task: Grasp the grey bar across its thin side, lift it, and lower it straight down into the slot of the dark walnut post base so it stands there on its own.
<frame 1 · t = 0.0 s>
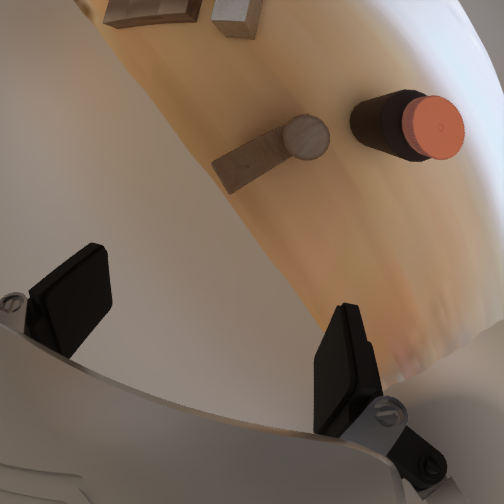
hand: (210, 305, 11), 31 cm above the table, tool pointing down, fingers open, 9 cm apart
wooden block: (279, 142, 37), on the table
grey bar: (246, 12, 29), on the table
bottle: (372, 123, 34), on the table
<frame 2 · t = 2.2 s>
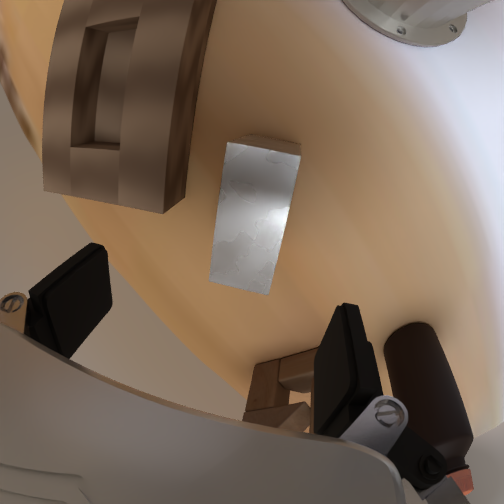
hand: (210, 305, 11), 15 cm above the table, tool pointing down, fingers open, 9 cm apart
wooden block: (300, 361, 32), on the table
post base: (128, 84, 21), on the table
grey bar: (265, 190, 24), on the table
bottle: (409, 342, 28), on the table
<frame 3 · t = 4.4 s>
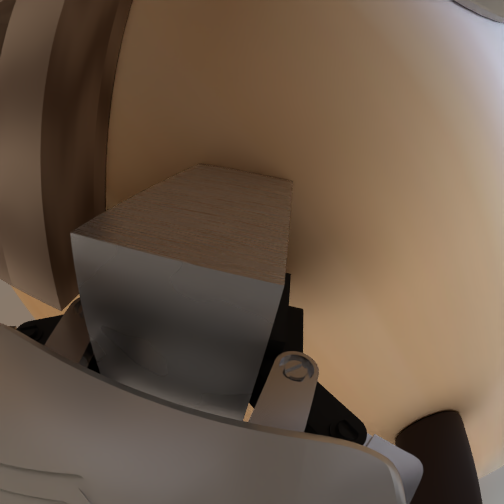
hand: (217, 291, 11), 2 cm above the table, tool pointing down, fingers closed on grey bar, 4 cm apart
post base: (29, 93, 11), on the table
grey bar: (229, 264, 14), on the table, touching gripper
bottle: (427, 427, 18), on the table
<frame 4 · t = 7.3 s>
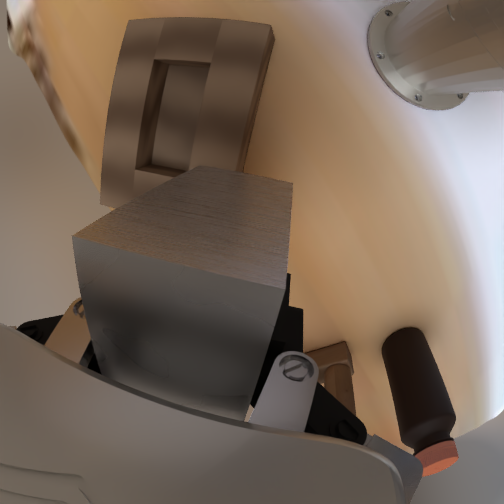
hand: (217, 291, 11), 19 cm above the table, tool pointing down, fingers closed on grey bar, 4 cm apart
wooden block: (312, 358, 38), on the table
post base: (186, 117, 27), on the table
grey bar: (230, 266, 14), point 17 cm above the table, touching gripper
bottle: (402, 343, 35), on the table
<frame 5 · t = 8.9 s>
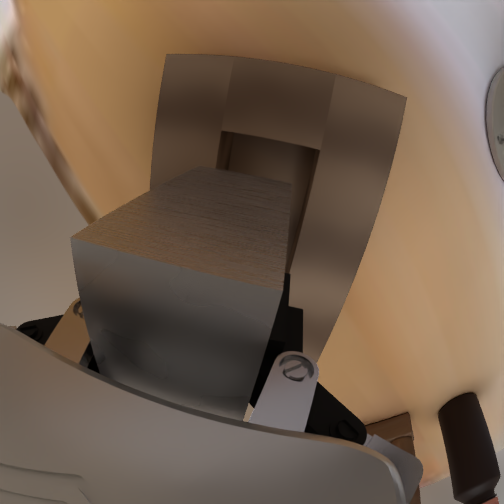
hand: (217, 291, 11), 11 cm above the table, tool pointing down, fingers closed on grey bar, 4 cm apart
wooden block: (374, 426, 32), on the table
post base: (262, 207, 21), on the table
grey bar: (229, 266, 14), point 9 cm above the table, touching gripper
bottle: (457, 404, 29), on the table
when the fingers open (5 cm above the table, at t = 10.4 s): grey bar drops 2 cm, resting on post base.
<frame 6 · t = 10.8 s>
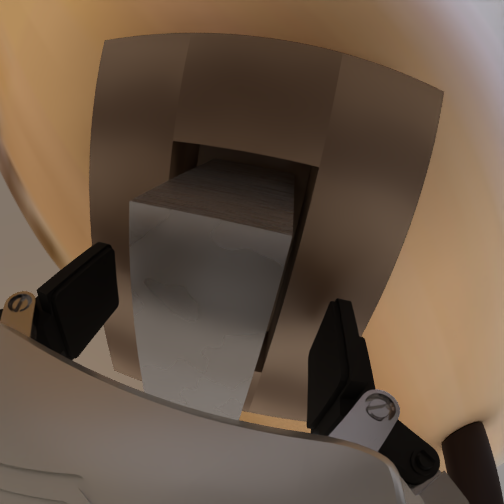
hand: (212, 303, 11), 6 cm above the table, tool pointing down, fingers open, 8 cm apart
post base: (241, 238, 16), on the table
grey bar: (239, 247, 16), point 1 cm above the table, touching post base
bottle: (462, 433, 24), on the table
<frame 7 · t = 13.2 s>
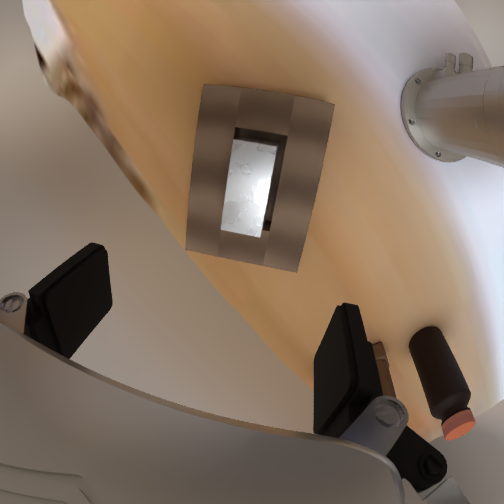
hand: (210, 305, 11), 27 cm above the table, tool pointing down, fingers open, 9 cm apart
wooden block: (355, 357, 45), on the table
post base: (257, 173, 34), on the table
grey bar: (257, 175, 33), point 1 cm above the table, touching post base
bottle: (424, 339, 42), on the table
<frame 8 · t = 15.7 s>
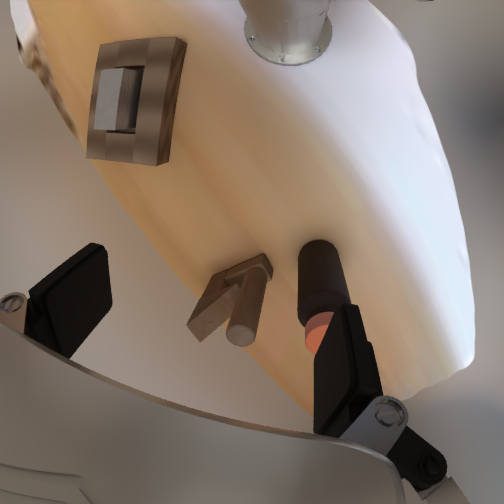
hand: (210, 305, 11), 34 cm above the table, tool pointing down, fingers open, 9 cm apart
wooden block: (242, 272, 50), on the table
post base: (138, 100, 39), on the table
grey bar: (135, 100, 38), point 1 cm above the table, touching post base
bottle: (318, 257, 47), on the table
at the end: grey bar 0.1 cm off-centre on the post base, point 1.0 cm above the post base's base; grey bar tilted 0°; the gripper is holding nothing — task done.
